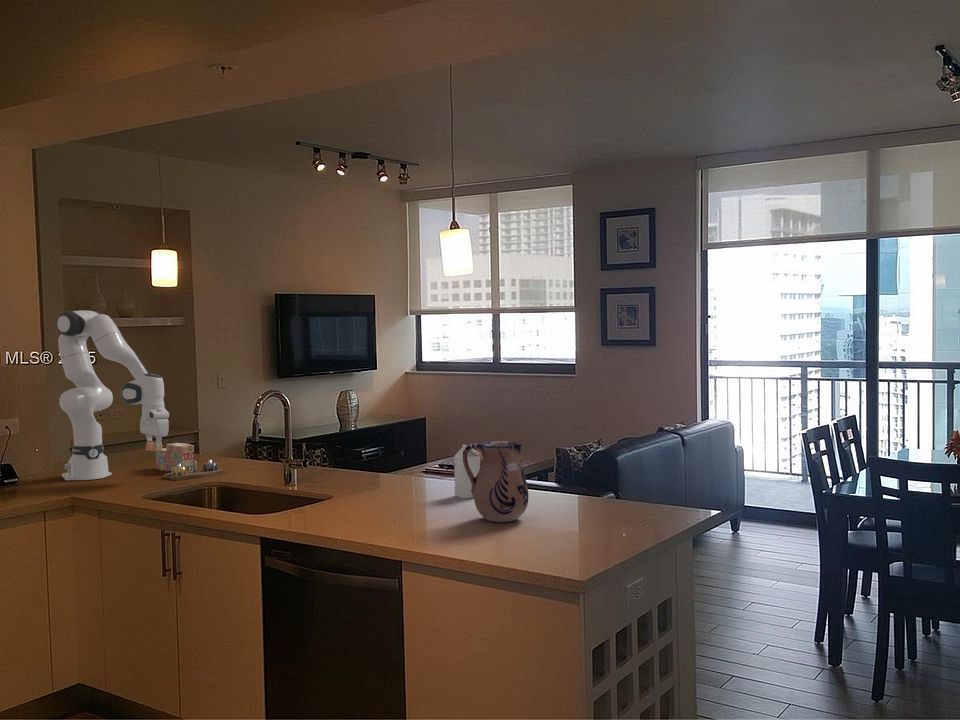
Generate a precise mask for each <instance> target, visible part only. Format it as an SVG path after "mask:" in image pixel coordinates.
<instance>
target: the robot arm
mask: <svg viewBox="0 0 960 720" xmlns="http://www.w3.org/2000/svg"><path fill="white" fill-rule="evenodd" d="M55 326H56V329H57V332H58V333H59V334H60V335H59V337H58V340H57V343H58V352H59V358H60V360H61V364H62V368H63V372H64V375H65V378H67V379H68V380H69V381H71V382H72V383H73V385H74V386H75V387H73V388H71V389H68V390H65V391H64V392H62V393H61V395H60V397H59V402H58V403H59V406H60V409H61V410H62V411H63V413H66V414H67V416H68V419H69V420H70V422H71V425H72V433H73V434H72V435H73V445H72V451H71V454H72V455H71V457H70V458H69V460H68V461H67V462H66V463H64V466H63V468H64V470H67V472H64V473H61V477H62V478H63V479H64V480H65V481H87V480H98V479H105V478H107V477H108V476H112V475H113V474H112V472H111V471H109V464H108V463H109V462H108V457H107V455H105V454H104V449H105V447H104V444H103V429H102V428H103V427H102V425H101V423H99V422H98V421H97V420H96V418H95V416H94V412H101V411H103V410H105V409H107V408H109V407H110V406H111V405H112V403H113V401H114V400H113V399H114V396H113V392H112V391H111V390H110V389H109V388H108V387H107V386H105V385H104V384H103V382H101V380H100V378H99V377H98V376H97V373H96V372H95V370H94V367H93V365H92V364H93V363H92V361H91V356H90V353H89V350H88V346H87V340H88V339H89V340H92V341H93V343H94V346H95V348H96V349H97V351H98V352H99V354H100V355H101V356H102V357H103V358H104V359H107V360H109V361H112V362H116V363H118V364H121V365H123V366H124V367H126V368H127V370H128V371H129V372H130V374H131V376H132V377H133V378H134V380H131V381H128V382H126V383H124V384H123V385H122V386H121V389H120V393H119V395H120V398H121V400H122V402H123V403H125V404H127V405H131V406H132V405H133V406H135V405H141V417H140V420H139V422H140V423H139V431H140V434H145V438H146V441H147V442H146V443H149V442H155V446H156V447H160V446H161V442H162V440H163V437H167V436H168V434H169V423H170V421H169V419H168V418H170V412H169V411H168V410H167V408H165V407H166V406H165V405H166V404H165V400H164V397H165V384H164V379H163V377H162V376H161V375H160V374H157V373H150V372H149V371H148V369H147V368H146V365H144V363H143V361H142V360H141V358H140V357H139V356H138V354H137V353H136V351H134V349H133V348H131V346H129V344H128V343H127V341H126V340H125V338H124V337H123V335H122V332H121V331H120V329H119V327H117V325H116V323H115V322H114V321H113V320H112V318H111V317H110V316H109V315H107V314H104V313H103V312H100V311H98V310H97V311H96V310H84V309H79V310H67V311H64V312H61V313H60V314H59V315H58V316H57V317H56V320H55ZM153 436H155V439H156V440H155V441H153Z"/></svg>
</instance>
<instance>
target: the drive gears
mask: <svg viewBox="0 0 960 720" xmlns="http://www.w3.org/2000/svg"><path fill="white" fill-rule="evenodd" d="M171 468H172V472H171V473H172V475H184V474H187V466H181V463H179V464H177V466H175V467H171ZM202 469H203V471H215V470H218V469H219V468H218V462H214V461H213V460H212V459H208V462H205V463H202Z"/></svg>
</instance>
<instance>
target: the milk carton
mask: <svg viewBox="0 0 960 720" xmlns="http://www.w3.org/2000/svg"><path fill="white" fill-rule="evenodd" d="M466 446H468V445H467V444H462V447H461V448H460V449H459V450H458V451H457V453H456V454H455V455H454V457H453V459H454V462H453V463H454V464H453V465H454V496H455V497H457V496H458V498H460V499H463V500H464V499H472V498H473V499H474V497H473V495H472V493H471V487H472V485H471V481H470V479H469V477H468V474H467V472H466V469H465V467H464V464H463V451H464V449H465V448H466ZM467 460H468V464H469V467H470V469H471V471H472V473H473V475H474V477H476V476H477V474H478V472H479V469H480V467H481V462H480V461H481V457H480V455H478V453H476V449H472V450H470V451H469V452H468V454H467Z"/></svg>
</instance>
